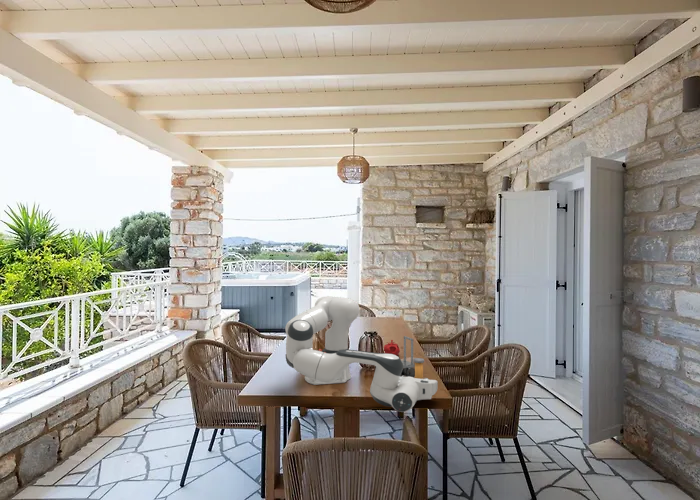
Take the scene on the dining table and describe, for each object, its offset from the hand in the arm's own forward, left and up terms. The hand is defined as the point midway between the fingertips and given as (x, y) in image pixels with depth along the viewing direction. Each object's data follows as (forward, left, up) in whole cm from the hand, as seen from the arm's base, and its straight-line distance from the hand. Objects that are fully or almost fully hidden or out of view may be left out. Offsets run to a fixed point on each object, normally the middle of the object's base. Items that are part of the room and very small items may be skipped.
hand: (415, 378), depth 170 cm
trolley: (+6, +23, -6) cm, 24 cm away
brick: (+17, +35, -7) cm, 40 cm away
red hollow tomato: (+24, +61, -7) cm, 66 cm away
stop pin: (+7, +8, -6) cm, 13 cm away
